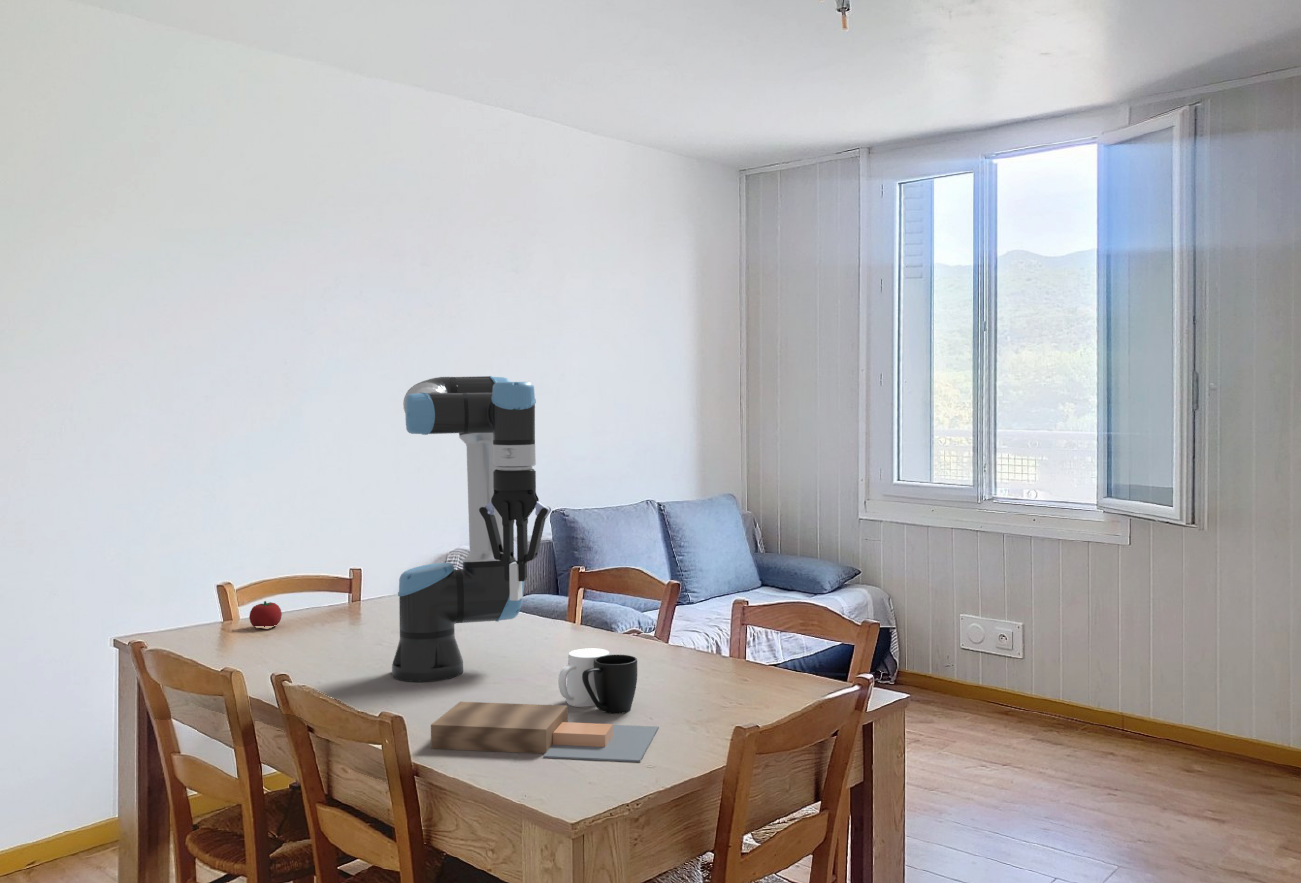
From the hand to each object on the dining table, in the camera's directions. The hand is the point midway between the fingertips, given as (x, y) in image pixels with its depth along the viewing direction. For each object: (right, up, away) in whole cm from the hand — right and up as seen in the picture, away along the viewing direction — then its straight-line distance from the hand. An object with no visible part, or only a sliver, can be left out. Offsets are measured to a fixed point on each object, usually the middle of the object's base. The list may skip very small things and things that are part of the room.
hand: (516, 598), depth 186 cm
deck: (-2, -23, -7) cm, 24 cm away
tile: (+13, -23, -10) cm, 28 cm away
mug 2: (+16, -23, +8) cm, 29 cm away
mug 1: (+11, -22, +15) cm, 29 cm away
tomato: (-78, -22, +89) cm, 121 cm away
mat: (+16, -23, -10) cm, 30 cm away
